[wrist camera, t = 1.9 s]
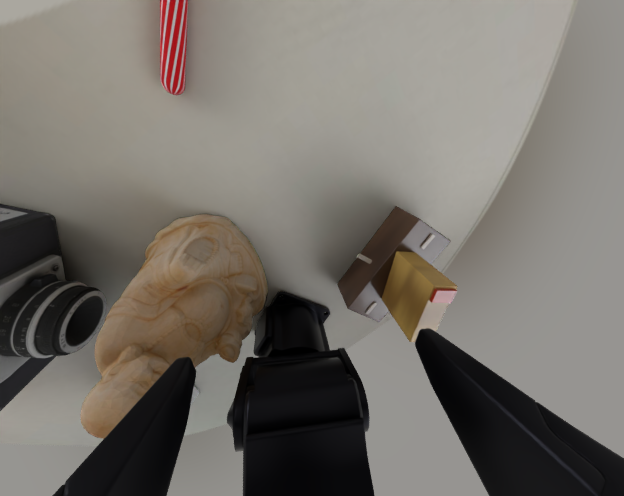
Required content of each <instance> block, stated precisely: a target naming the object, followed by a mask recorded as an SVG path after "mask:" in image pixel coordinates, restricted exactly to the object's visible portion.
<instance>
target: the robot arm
mask: <svg viewBox="0 0 624 496" xmlns="http://www.w3.org/2000/svg"><path fill="white" fill-rule="evenodd" d="M280 296H283V297H280ZM324 312H326V313H324ZM329 315H330V311H329V309H328V308H326V307H323V306H321V305H318V304H315V303H313V302H310V301H308V300H305V299H302V298H300V297H297V296H294V295H292V294H289V293H286V292H283V291H280V292H278V293H277V295H276V297H275V298H274V300H273V302H272V303H271V305H270V306H267V307H266V308H265V310H264V312H263V313H262V315H261V317H260V319H259V320H258V322H257V326H256V330H255V345H254V354H255V355H256V356H259V357H258V358H253V357H247V358H246V362H245V366H243V368H242V371H241V373H240V379H239V383H238V387H237V391H236V394H235V398H234V401H233V403H232V405H231V408H230V410H229V412H228V416H227V423H228V424H229V426H230V427H231V428H232V430H233V437H234V447H235V451H243V454H244V455H243V496H374V490H373V485H372V479H371V474H370V468H369V463H368V457H367V449H366V441H365V432H366V431H367V430H368V428H369V409H368V403H367V398H366V394H365V390H364V387H363V384H362V381H361V379H360V377H359V375H358V373H357V371H356V369H355V368H354V366H353V364H352V362H351V360H350V358H349V356H348V354H347V353H346V351H345V349H344V348H338V350H330V349H329V345H328V341H327V337H326V333H325V329H324V325H323V323H324V322H325V320H326V319H327V317H328V316H329ZM415 346H416V349H417V351H418V354H419V356H420V359H421V361H422V364H423V366H424V369H425V371H426V373H427V376H428V378H429V380H430V383H431V385H432V387H433V389H434V391H435V393H436V395H437V397H438V399H439V401H440V403H441V405H442V406H443V408H444V410H445V412H446V414H447V416H448V418H449V419H450V422H451V424H452V426H453V427H454V429H455V431H456V433H457V435H458V437H459V439H460V441H461V443H462V445H463V447H464V448H465V450H466V452H467V454H468V456H469V458H470V460H471V462H472V464H473V466H474V468H475V469H476V471H477V473H478V475H479V477H480V479H481V481H482V483H483V485H484V487H485V489H486V490H487V492H488V494H489V496H624V458H622V457H621V456H619V455H618V454H616V453H614V452H612V451H611V450H610V449H608V448H606V447H605V446H603V445H601V444H600V443H598V442H597V441H595V440H593V439H592V438H590V437H589V436H587V435H586V434H584V433H583V432H581V431H579V430H578V429H576V428H575V427H573V426H572V425H570V424H569V423H567V422H566V421H564V420H563V419H561V418H560V417H558V416H557V415H555V414H554V413H552V412H551V411H549V410H548V409H546V408H545V407H544V406H542V405H541V404H539V403H537V402H535V400H533V399H532V398H530V397H529V396H528V395H526V394H525V393H523V392H522V391H520V390H519V389H517V388H516V387H515V386H513V385H512V384H510V383H509V382H507V381H506V380H504V379H503V378H502V377H500V376H499V375H497V374H496V373H494V372H493V371H492V370H490V369H489V368H487V367H486V366H484V365H483V364H481V363H480V362H478V361H477V360H476V359H474V358H473V357H471V356H470V355H468V354H467V353H465V352H464V351H462V350H461V349H460V348H458V347H457V346H455V345H454V344H452V343H451V342H450V341H448V340H446V339H445V338H444V337H442V336H441V335H439V334H438V333H437V332H435V331H434V330H432V329H430V328H426V329H421V330H419V333H418V335H417V338H416V341H415ZM195 378H196V370H195V367H194V365H193V362H192V360H191V358H190V357H181V358H178V359H176V360H175V361H174V362H173V363H172V364H171V365H170V366H169V368H168V369H167V370H166V371H165V372H164V373H163V374H162V375H161V376H160V378H159V379H158V380H157V381H156V382H155V383H154V384H153V385H152V386H151V388H150V389H149V390H148V391H147V392H146V393H145V394H144V395H143V396H142V397H141V399H140V400H139V401H138V402H137V403H136V404H135V405H134V406H133V407H132V409H131V410H130V411H129V412H128V413H127V414H126V415H125V416H124V417H123V419H122V420H121V421H120V422H119V423H118V424H117V425H116V426H115V427H114V429H113V430H112V431H111V432H110V433H109V434H108V435H107V436H106V437H105V438H104V440H103V441H102V442H101V443H100V444H99V445H98V446H97V447H96V448H95V450H94V451H93V452H92V453H91V454H90V455H89V456H88V458H87V459H86V460H85V461H84V462H83V463H82V464H81V465H80V466H79V468H77V469H76V471H75V472H74V473H73V474H72V475H71V476H70V477H69V478H68V480H67V481H66V483H65V485H62V486H61V487H60V488H59V489H58V491H57V492H56V493H55V494H54V495H53V496H166V495H167V492H168V488H169V485H170V481H171V478H172V474H173V471H174V467H175V464H176V460H177V457H178V453H179V450H180V446H181V443H182V439H183V436H184V432H185V429H186V425H187V420H188V416H189V410H190V405H191V399H192V394H193V388H194V383H195Z"/></svg>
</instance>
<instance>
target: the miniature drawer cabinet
mask: <svg viewBox="0 0 624 496" xmlns="http://www.w3.org/2000/svg"><path fill="white" fill-rule="evenodd" d="M450 242H451V241H450V240H449V239H447V238H446V237H445V236H443V235H442V234H440V233H439V232H437V231H436V230H435V229H433V228H432V227H430V226H429V225H427V224H426V223H425V222H423V221H422V220H420V219H419V218H417V217H415V216H413V215H411V214H409V213H408V212H406V211H404V210H402V209H400V208H398V207H397V206H396V207H395V208H394V210H393V211H392V212H391V214H390V215H389V216H388V218H387V219H386V220H385V221H384V223H383V224H382V225H381V227H380V228H379V229H378V231H377V232H376V233H375V235H374V236H373V237H372V239H371V240H370V241H369V243H368V244H367V245H366V247H365V248H364V249H363V251H362V252H361V253H359V254H358V255H357V259H356V260H355V261H354V263H353V264H352V265H351V267H350V268H349V269H348V271H347V272H346V273H345V275H344V276H343V277H342V279H341V280H340V281H339V283H338V284H337V285H338V287H339V289H340V292H341V294H342V296H343V299H344V301H345V303H346V306H347V308H348V309H350V310H352V311H354V312H357V313H359V314H361V315H364V316H366V317H368V318H371V319H373V320H375V321H378V322H380V320H381V319H382V318H383V317H384V316H385V315H386V314H387V313H388V311H389V310H388V308H387V307H386V305H385V304H384V302H383V301H382V296H383V293H384V289H385V286H386V283H387V280H388V277H389V273H390V270H391V267H392V264H393V261H394V258H395V254H396V252H397V251H400V252H415V253H417V254H418V255H419V256H421V257H422V258H423V259H424V260H425V261H427V262H428V263H429V264H431V263H432V262H433V261H434V260H435V258H436V257H437V256H438V255H439V254H440V253H441V252H442V251H443V249H444V248H445V247H446V246H447V245H448V244H449V243H450Z"/></svg>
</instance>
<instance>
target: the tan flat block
mask: <svg viewBox="0 0 624 496" xmlns="http://www.w3.org/2000/svg"><path fill="white" fill-rule="evenodd" d="M456 289H457V285H455V284H454V283H453V282H452V281H450V280H449V279H448V278H447V277H445V276H444V275H443V274H442V273H440V272H439V271H438V270H437V269H435V268H434V267H433V266H432V265H430V264H429V263H428V262H427V261H425V260H424V259H423V258H422V257H421V256H419V255H418V254H417V253H415V252H400V251H397V252H396V254H395V258H394V261H393V264H392V267H391V270H390V273H389V277H388V280H387V283H386V286H385V289H384V293H383V296H382V301H383V302H384V304H385V305H386V307H387V308H388V310H389V311H390V313H391V314H392V316H393V317H394V319H395V320H396V322H397V323H398V325H399V326H400V328H401V329H402V331H403V332H404V334H405V335H406V336H407V338H408V340H409V341H410V342H415V341H416V338H417V335H418V333H419V330H421V329H426V328H430V329H432V330H434V331H435V332H436V331H437V329H438V326H439V324H440V322H441V320H442V318H443V316H444V314H445V312H446V310H447V307H448V305H449V303H452V301H453V299H454V297H455V295H456V293H457V290H456Z"/></svg>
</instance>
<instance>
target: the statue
mask: <svg viewBox="0 0 624 496" xmlns="http://www.w3.org/2000/svg"><path fill="white" fill-rule="evenodd" d="M145 257H146V261H145V262H144V264H143V265H142V267H141V269H140V271H139V273H138V274H137V275H136V276H135V277H134V278H133V280H132V281H131V282H130V283H129V285H128V286H127V287H126V288H125V290H124V292H123V293H122V295H121V297H120V298H119V299H118V301H117V302H115V303H114V305H113V306H112V308H111V310H110V312H109V313H108V315H107V316H106V318H105V323H104V325H103V327H102V329H101V331H100V332H99V334H98V336H97V341H96V344H95V360H96V365H97V368H98V370H99V371H100V373H101V375H102V378H101V380H100V381H99V382H98V383H97V384H96V385H95V386H94V387H93V388H92V390H91V391H90V392H89V394H88V395H87V396H86V398H85V400H84V402H83V405H82V409H81V423H82V425H83V428H84V429H85V430H86V431H87V432H88V433H89V434H91V435H93V436H95V437H98V438H105V437H106V436H107V435H108V434H109V433H110V432H111V431H112V430H113V429H114V427H115V426H116V425H117V424H118V423H119V422H120V421H121V420H122V419H123V417H124V416H125V415H126V414H127V413H128V412H129V411H130V410H131V409H132V407H133V406H134V405H135V404H136V403H137V402H138V401H139V400H140V399H141V397H142V396H143V395H144V394H145V393H146V392H147V391H148V390H149V389H150V388H151V386H152V385H153V384H154V383H155V382H156V381H157V380H158V379H159V378H160V376H161V375H162V374H163V373H164V372H165V371H166V370H167V369H168V368H169V366H170V365H171V364H172V363H173V362H174V361H175V360H176V359H178V358H181V357H190V358H191V360H192V362H193V365H194V367H196V366H197V365H199V364H200V363H202V362H203V361H205V360H206V359H208V358H209V357H210V356H211V355H215V354H219V355H220V357H221V358H223V359H225V360H227V361H229V362H232V363H233V362H235V361H236V360H237V359H238V357H239V354H240V348H241V346H242V340H243V339H245V338H246V337H247V336H248V335H249V333H250V331H251V329H252V318H253V317H254V316H255V315H256V314H258V313H259V312H260V311H261V310H262V309H263V307H264V305H265V301H266V296H267V294H268V287H267V281H266V277H265V273H264V269H263V266H262V263H261V261H260V259H259V257H258V255H257V253H256V251H255V249H254V248H253V246H252V244H251V243H250V241H249V240H248V239H247V238H246V236H245V235H244V234H243V233H242V232H241V231H240V230H239V229H238V228H237V226H235V225H234V224H233V223H232V222H231V221H230V220H229V219H228V218H226V217H220V216H213V215H209V214H200V215H195V216H192V217H184V218H179V219H176V220H175V221H173V222H172V223H171V224H170V225H169V226H168V227H166V228H164V229H161V230H160V231H159V232H158V233H157V234H156V236H155V239H154V241H153V242H152V243H150V244H149V245H148V247H147V248H146V252H145Z"/></svg>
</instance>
